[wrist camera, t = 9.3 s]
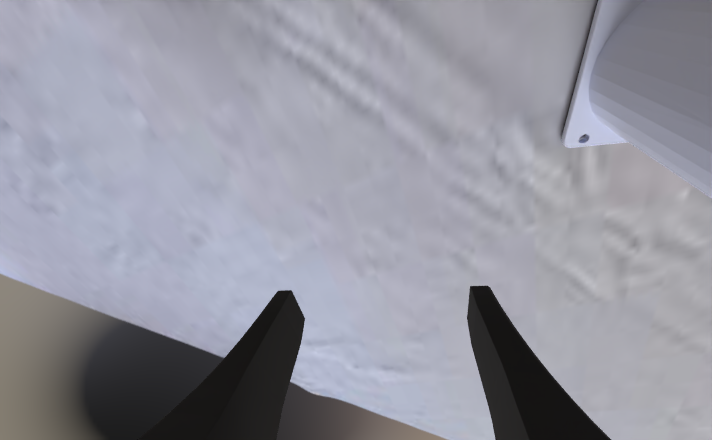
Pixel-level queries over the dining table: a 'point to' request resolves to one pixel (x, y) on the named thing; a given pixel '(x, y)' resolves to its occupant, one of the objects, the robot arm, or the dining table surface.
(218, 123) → the dining table surface
